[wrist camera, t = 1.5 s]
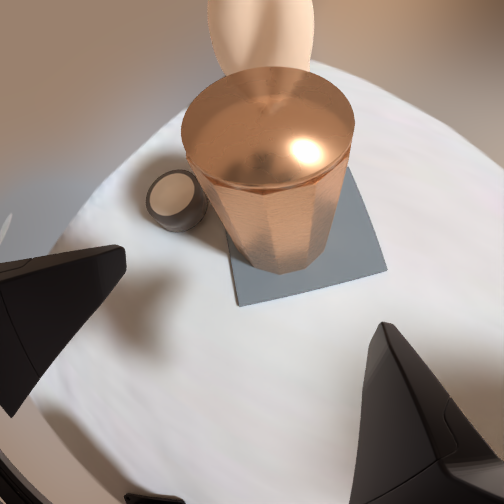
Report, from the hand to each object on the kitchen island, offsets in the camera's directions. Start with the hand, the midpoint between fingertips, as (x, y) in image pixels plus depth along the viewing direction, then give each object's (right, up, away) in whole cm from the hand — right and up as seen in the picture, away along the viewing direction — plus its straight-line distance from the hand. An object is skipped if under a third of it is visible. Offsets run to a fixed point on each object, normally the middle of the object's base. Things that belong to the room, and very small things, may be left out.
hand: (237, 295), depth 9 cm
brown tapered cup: (+3, +3, +14) cm, 15 cm away
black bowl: (-6, +5, +16) cm, 18 cm away
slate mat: (+4, +3, +14) cm, 15 cm away
